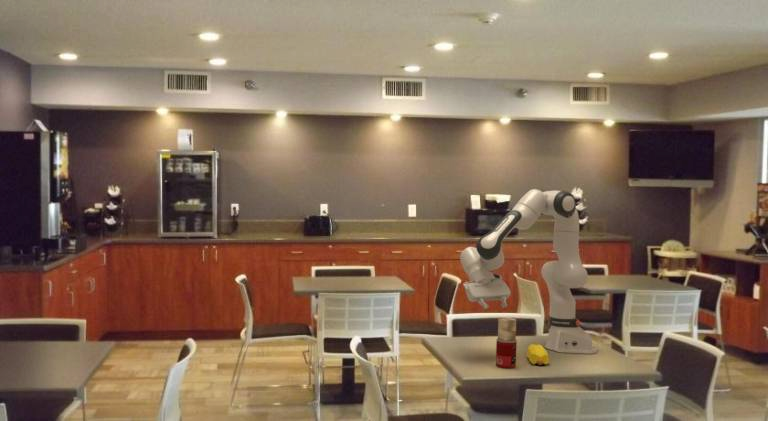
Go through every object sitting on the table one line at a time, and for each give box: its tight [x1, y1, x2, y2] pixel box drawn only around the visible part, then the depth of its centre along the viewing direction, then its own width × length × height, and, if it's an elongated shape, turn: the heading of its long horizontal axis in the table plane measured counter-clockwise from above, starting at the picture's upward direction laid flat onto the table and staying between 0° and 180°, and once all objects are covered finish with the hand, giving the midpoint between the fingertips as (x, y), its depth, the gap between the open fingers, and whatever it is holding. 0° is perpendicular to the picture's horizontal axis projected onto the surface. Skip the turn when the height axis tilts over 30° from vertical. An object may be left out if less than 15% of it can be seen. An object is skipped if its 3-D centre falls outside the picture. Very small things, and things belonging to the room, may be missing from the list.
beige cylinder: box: [497, 317, 517, 341], centre depth 301 cm, size 5×5×8 cm
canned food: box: [495, 337, 518, 369], centre depth 302 cm, size 8×8×11 cm
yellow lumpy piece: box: [526, 343, 550, 366], centre depth 312 cm, size 18×7×8 cm
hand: (496, 307), depth 308 cm, fingers open, 8 cm apart
